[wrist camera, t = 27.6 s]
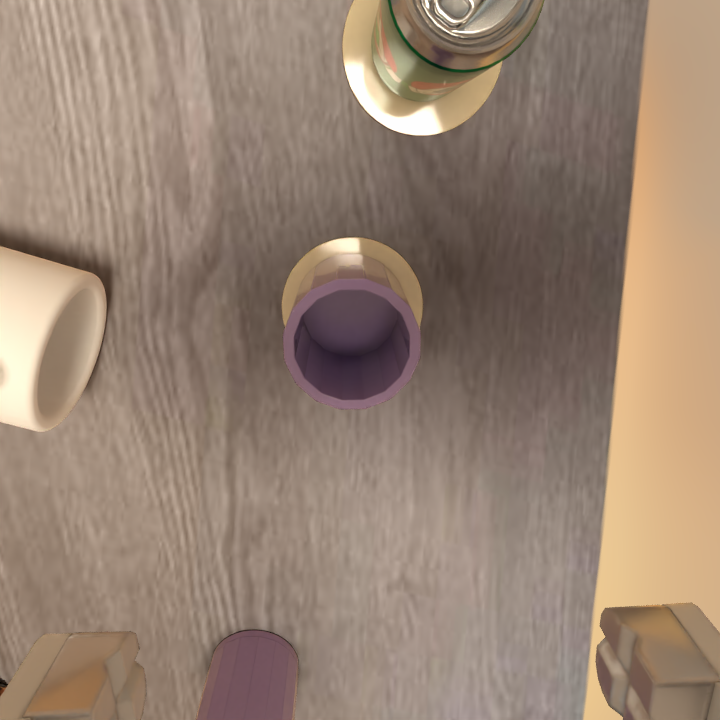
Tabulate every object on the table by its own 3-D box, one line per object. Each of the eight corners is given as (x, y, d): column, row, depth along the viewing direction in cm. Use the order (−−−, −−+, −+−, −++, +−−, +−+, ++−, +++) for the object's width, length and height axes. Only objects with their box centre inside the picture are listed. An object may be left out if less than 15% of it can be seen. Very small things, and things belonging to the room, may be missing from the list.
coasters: (507, -48, 27) (508, -50, 27) (489, 367, 34) (490, 369, 34) (253, -40, 27) (252, -42, 27) (287, 376, 34) (287, 377, 34)
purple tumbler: (405, 252, 32) (422, 277, 25) (404, 359, 34) (418, 408, 27) (292, 254, 31) (279, 279, 25) (298, 361, 33) (286, 410, 27)
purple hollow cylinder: (295, 627, 40) (286, 719, 34) (301, 693, 42) (293, 792, 36) (206, 631, 40) (180, 725, 34) (217, 698, 42) (193, 797, 36)
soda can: (494, 32, 28) (596, -53, 17) (431, 124, 29) (487, 102, 18) (411, -38, 27) (460, -178, 16) (350, 60, 28) (355, -4, 17)
